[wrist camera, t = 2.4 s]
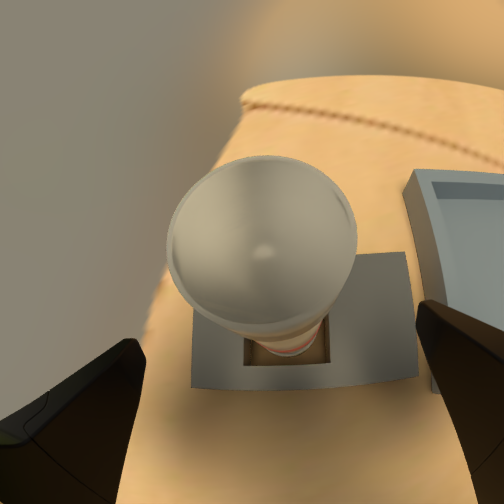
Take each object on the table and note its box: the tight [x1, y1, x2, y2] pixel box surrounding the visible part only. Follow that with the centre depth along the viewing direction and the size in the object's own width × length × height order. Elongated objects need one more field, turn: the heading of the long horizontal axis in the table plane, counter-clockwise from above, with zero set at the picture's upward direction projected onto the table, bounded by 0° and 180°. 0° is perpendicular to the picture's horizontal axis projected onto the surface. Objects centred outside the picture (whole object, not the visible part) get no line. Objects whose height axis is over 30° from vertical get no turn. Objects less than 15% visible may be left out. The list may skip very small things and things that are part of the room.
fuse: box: [166, 155, 357, 357], centre depth 11 cm, size 3×3×13 cm
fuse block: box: [191, 252, 419, 391], centre depth 16 cm, size 7×12×2 cm, turn 90°
